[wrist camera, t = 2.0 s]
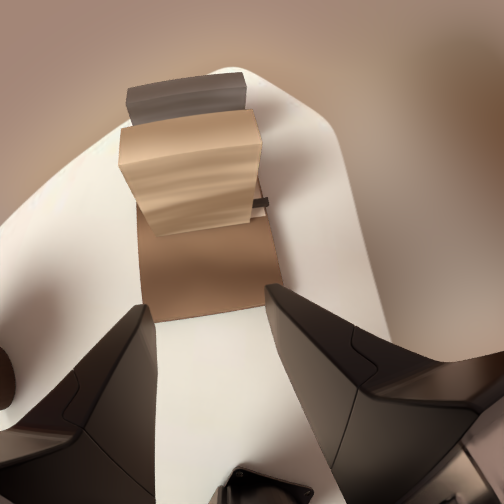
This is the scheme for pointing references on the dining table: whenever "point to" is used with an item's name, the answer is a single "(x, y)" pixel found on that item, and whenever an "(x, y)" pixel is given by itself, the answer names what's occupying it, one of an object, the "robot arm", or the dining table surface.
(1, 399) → the coffee mug
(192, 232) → the gauge track
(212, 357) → the dining table surface
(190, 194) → the pad
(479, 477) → the robot arm
